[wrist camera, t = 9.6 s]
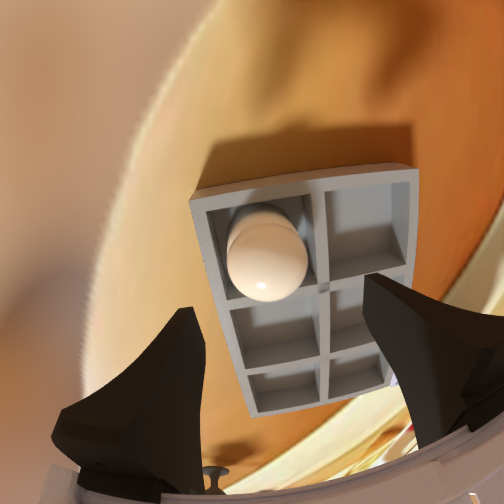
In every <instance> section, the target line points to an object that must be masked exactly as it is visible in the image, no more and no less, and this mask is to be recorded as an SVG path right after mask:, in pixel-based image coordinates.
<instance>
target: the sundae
mask: <svg viewBox="0 0 504 504" xmlns="http://www.w3.org/2000/svg"><path fill="white" fill-rule="evenodd" d="M202 470H203V474H205V475H209V477H210V479H211V487H210V488H209V489H207V490H205V494H206V495H226V494H225V493H224V492H223V491H222V490H221V489H219V488H218V479H219V477H220V476H224V475H227V474H228V473H229V471H228V470H227V469H225V468H221V467H204V468H202Z"/></svg>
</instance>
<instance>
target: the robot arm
mask: <svg viewBox="0 0 504 504" xmlns="http://www.w3.org/2000/svg"><path fill="white" fill-rule="evenodd" d="M362 315H363V317H364V319H365V322H366V324H367V327H368V329H369V331H370V333H371V335H372V336H373V338H374V340H375V342H376V343H377V345H378V347H379V348H380V350H381V352H382V353H383V355H384V357H385V358H386V360H387V362H388V363H389V365H390V367H391V368H392V370H393V372H394V373H393V376H392V380H391V383H390V387H393V386H396V385H399V386H400V388H401V391H402V393H403V396H404V399H405V402H406V404H407V407H408V410H409V413H410V417H411V420H412V424H413V427H414V431H415V435H416V439H417V444H418V449H419V450H417V451H415V452H412V453H410V454H408V455H405V456H403V457H401V458H398V459H396V460H393V461H391V462H388V463H385V464H382V465H380V466H377V467H374V468H371V469H368V470H365V471H362V472H359V473H355V474H352V475H348V476H345V477H341V478H337V479H334V480H329V481H325V482H321V483H316V484H312V485H307V486H302V487H296V488H290V489H284V490H277V491H269V492H260V493H249V494H234V495H206V494H205V486H204V479H203V470H202V458H201V441H200V407H201V398H202V390H203V382H204V374H205V365H206V348H205V341H204V338H203V335H202V332H201V329H200V326H199V324H198V321H197V318H196V315H195V312H194V309H193V307H186V308H179V309H178V310H177V311H176V312H175V314H174V315H173V316H172V318H171V319H170V320H169V321H168V323H167V324H166V325H165V327H164V328H163V329H162V330H161V332H160V333H159V334H158V335H157V337H156V338H155V339H154V340H153V341H152V342H151V344H150V345H149V346H148V347H147V348H146V349H145V350H144V351H143V353H142V354H141V355H140V356H139V357H138V358H137V359H136V360H135V361H134V362H133V363H132V364H131V365H130V366H129V367H127V368H126V369H125V370H124V371H123V372H122V373H121V374H119V375H118V376H117V377H115V378H114V379H113V380H112V381H110V382H109V383H108V384H106V385H105V386H104V387H102V388H101V389H99V390H98V391H96V392H94V393H93V394H91V395H90V396H88V397H86V398H84V399H83V400H81V401H79V402H77V403H75V404H73V405H71V406H69V407H67V408H64V409H62V410H61V413H60V415H59V417H58V420H57V422H56V425H55V427H54V430H53V433H52V435H51V438H52V441H53V443H54V444H55V446H56V447H57V448H58V449H59V450H60V451H61V452H62V453H64V454H65V455H66V456H67V457H68V458H70V459H71V460H72V461H74V462H75V463H76V464H77V465H79V466H80V467H81V469H80V473H77V472H75V471H73V470H70V469H67V468H64V467H60V466H57V465H54V464H50V466H49V469H48V472H47V476H46V479H45V482H44V486H43V490H42V493H41V497H40V501H39V504H473V503H472V500H471V498H470V495H469V494H474V495H476V498H477V500H478V501H479V503H480V504H504V316H495V315H488V314H482V313H476V312H472V311H468V310H464V309H460V308H457V307H454V306H451V305H448V304H445V303H442V302H439V301H437V300H434V299H432V298H430V297H427V296H425V295H423V294H421V293H419V292H416V291H414V290H412V289H410V288H408V287H406V286H404V285H402V284H400V283H398V282H396V281H394V280H393V279H391V278H388V277H386V276H384V275H382V274H380V273H377V272H376V273H372V274H367V275H364V292H363V309H362Z"/></svg>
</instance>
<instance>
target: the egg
mask: <svg viewBox="0 0 504 504" xmlns="http://www.w3.org/2000/svg"><path fill="white" fill-rule="evenodd" d="M307 267H308V256H307V251H306V248H305V245H304V243H303V241H302V239H301V238H300V236H299V234H298V233H297V231H296V229H295V227H294V226H293V224H292V222H291V221H290V219H289V217H288V216H287V214H286V213H285V212H284V211H283V210H281V209H280V208H278V207H277V206H274V205H271V204H267V203H255V204H251V205H249V206H246V207H244V208H243V209H241V210H240V211H239V212H238V213H236V215H235V216H234V217H233V219H232V220H231V222H230V225H229V228H228V241H227V269H228V273H229V276H230V278H231V280H232V282H233V284H234V285H235V287H236V288H237V289H238V290H239V291H240V292H241V293H242V294H244V295H245V296H247V297H249V298H251V299H253V300H256V301H261V302H274V301H278V300H281V299H284V298H286V297H288V296H289V295H291V294H292V293H293V292H295V291H296V290H297V289H298V287H299V286H300V285H301V283H302V281H303V280H304V278H305V275H306V272H307Z"/></svg>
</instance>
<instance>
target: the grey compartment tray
mask: <svg viewBox="0 0 504 504" xmlns="http://www.w3.org/2000/svg"><path fill="white" fill-rule="evenodd" d="M255 203H267V204H271V205H274V206H277V207H278V208H280V209H281V210H283V211H284V212H285V213H286V214H287V216H288V217H289V219H290V221H291V222H292V224H293V226H294V227H295V229H296V231H297V233H298V234H299V236H300V238H301V239H302V241H303V243H304V245H305V248H306V251H307V256H308V267H307V272H306V275H305V278H304V280H303V281H302V283H301V285H300V286H299V287H298V289H297V290H296V291H295V292H293V293H292V294H291V295H289V296H288V297H286V298H284V299H281V300H278V301H274V302H261V301H256V300H253V299H251V298H249V297H247V296H245V295H244V294H242V293H241V292H240V291H239V290H238V289H237V288H236V287H235V285H234V284H233V282H232V280H231V278H230V276H229V273H228V269H227V241H228V228H229V225H230V222H231V220H232V219H233V217H234V216H235V215H236V213H238V212H239V211H240V210H241V209H243V208H244V207H246V206H249V205H251V204H255ZM189 204H190V209H191V213H192V217H193V221H194V225H195V229H196V234H197V238H198V242H199V245H200V249H201V253H202V257H203V261H204V265H205V269H206V272H207V276H208V280H209V283H210V287H211V291H212V294H213V298H214V301H215V305H216V308H217V312H218V315H219V319H220V322H221V326H222V329H223V332H224V336H225V339H226V342H227V346H228V349H229V352H230V355H231V359H232V362H233V365H234V368H235V371H236V374H237V378H238V381H239V384H240V387H241V390H242V393H243V396H244V399H245V402H246V405H247V408H248V411H249V414H250V416H251V418H256V417H263V416H269V415H276V414H282V413H287V412H293V411H298V410H303V409H307V408H312V407H317V406H321V405H325V404H329V403H333V402H337V401H341V400H345V399H348V398H352V397H355V396H359V395H362V394H365V393H369V392H372V391H375V390H378V389H381V388H384V387H387V386H390V383H391V380H392V376H393V373H394V372H393V370H392V368H391V367H390V365H389V363H388V362H387V360H386V358H385V357H384V355H383V353H382V352H381V350H380V348H379V347H378V345H377V343H376V342H375V340H374V338H373V336H372V335H371V333H370V331H369V329H368V327H367V324H366V322H365V319H364V317H363V315H362V309H363V292H364V275H367V274H372V273H376V272H377V273H380V274H382V275H384V276H386V277H388V278H391V279H393V280H394V281H396V282H398V283H400V284H402V285H404V286H406V287H408V288H410V289H411V288H412V281H413V273H414V265H415V255H416V244H417V231H418V211H419V169H418V168H415V167H411V166H408V165H405V164H401V163H398V162H388V163H375V164H364V165H354V166H344V167H335V168H326V169H318V170H310V171H303V172H295V173H288V174H282V175H275V176H269V177H262V178H256V179H250V180H245V181H239V182H233V183H228V184H223V185H217V186H212V187H207V188H202V189H197V190H195V191H194V193H193V195H192V196H191V198H190V200H189Z"/></svg>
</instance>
